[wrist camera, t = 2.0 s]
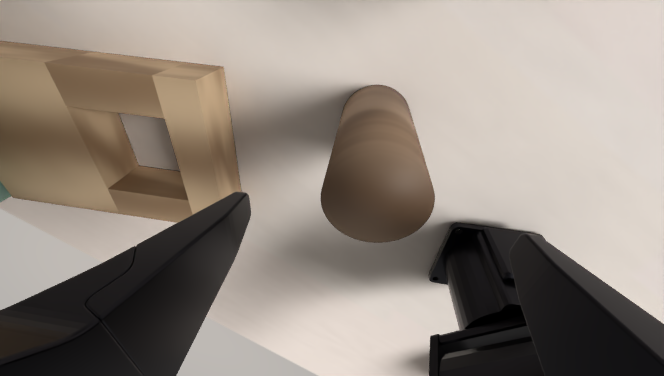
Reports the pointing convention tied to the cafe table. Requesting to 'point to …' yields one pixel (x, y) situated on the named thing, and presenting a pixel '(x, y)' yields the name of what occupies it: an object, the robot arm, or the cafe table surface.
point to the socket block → (112, 131)
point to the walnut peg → (377, 170)
